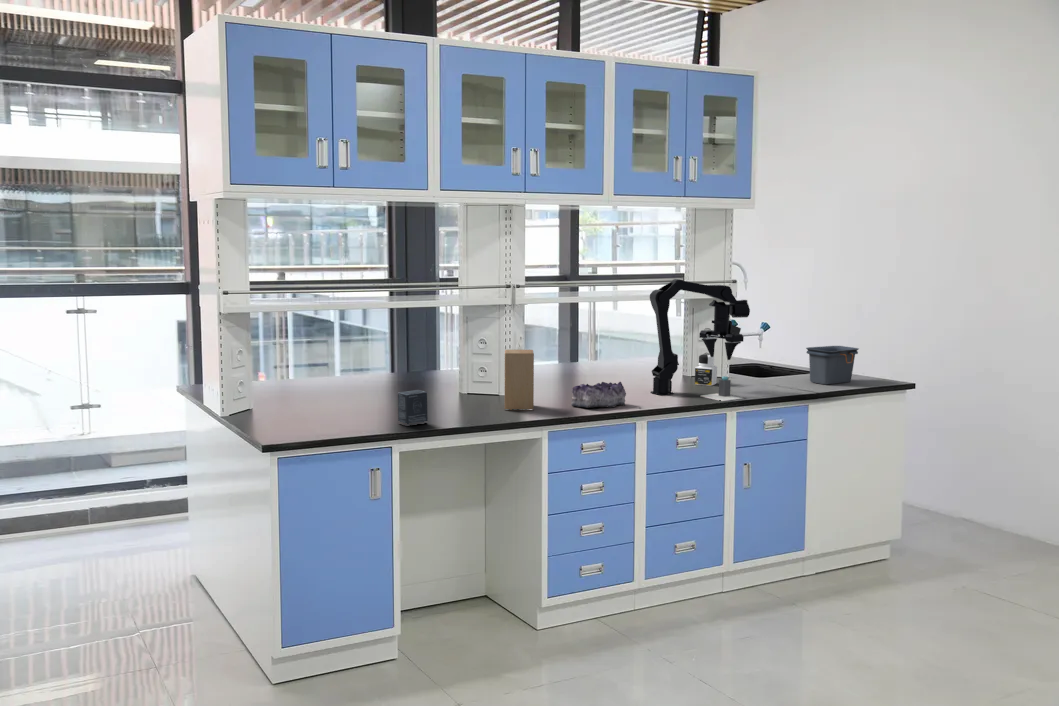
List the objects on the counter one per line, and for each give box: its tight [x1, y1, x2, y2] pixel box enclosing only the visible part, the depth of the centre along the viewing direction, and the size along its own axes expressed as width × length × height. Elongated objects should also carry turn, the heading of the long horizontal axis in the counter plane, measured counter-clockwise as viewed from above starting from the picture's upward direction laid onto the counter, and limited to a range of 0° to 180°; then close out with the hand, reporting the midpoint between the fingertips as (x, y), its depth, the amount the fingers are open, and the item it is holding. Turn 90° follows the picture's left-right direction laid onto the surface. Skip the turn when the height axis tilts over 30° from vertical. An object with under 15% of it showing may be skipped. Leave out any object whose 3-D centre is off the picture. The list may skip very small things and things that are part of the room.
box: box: [397, 389, 429, 424], centre depth 311 cm, size 8×6×11 cm
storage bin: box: [805, 345, 860, 385], centre depth 399 cm, size 21×16×14 cm
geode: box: [571, 381, 627, 409], centre depth 345 cm, size 20×12×10 cm, turn 117°
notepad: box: [700, 392, 745, 402], centre depth 363 cm, size 11×12×1 cm
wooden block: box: [504, 349, 535, 411], centre depth 339 cm, size 10×10×20 cm
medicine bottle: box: [694, 353, 718, 387], centre depth 393 cm, size 7×7×12 cm
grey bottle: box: [718, 375, 732, 397], centre depth 365 cm, size 3×3×7 cm
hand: (720, 358), depth 374 cm, fingers open, 9 cm apart
